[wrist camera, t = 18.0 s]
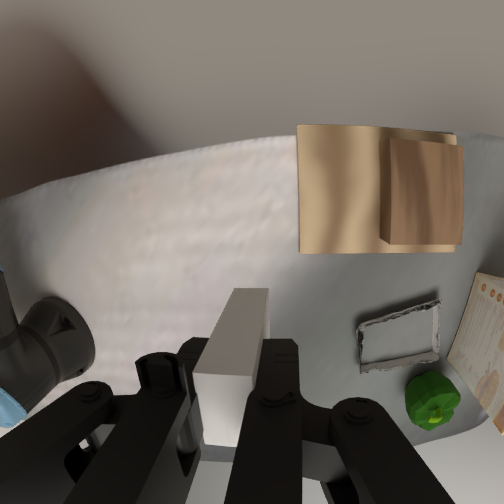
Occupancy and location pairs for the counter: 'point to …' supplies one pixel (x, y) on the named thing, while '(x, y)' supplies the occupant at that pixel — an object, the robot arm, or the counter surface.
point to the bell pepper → (431, 400)
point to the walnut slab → (421, 192)
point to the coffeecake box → (483, 346)
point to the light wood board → (348, 188)
